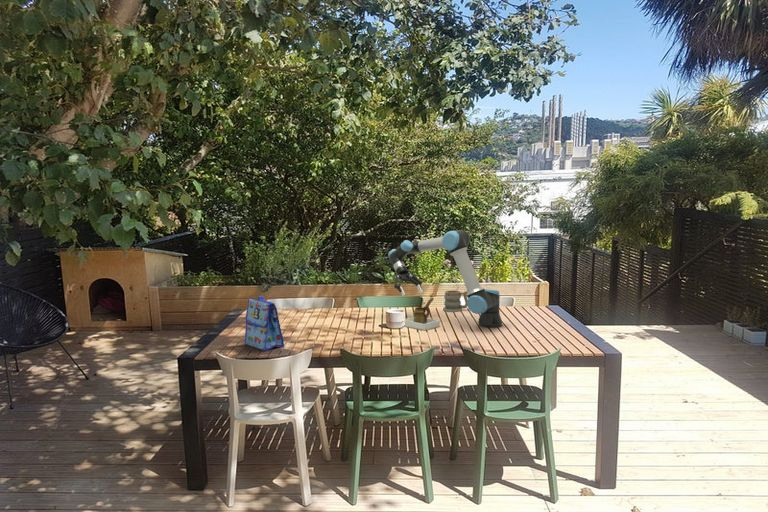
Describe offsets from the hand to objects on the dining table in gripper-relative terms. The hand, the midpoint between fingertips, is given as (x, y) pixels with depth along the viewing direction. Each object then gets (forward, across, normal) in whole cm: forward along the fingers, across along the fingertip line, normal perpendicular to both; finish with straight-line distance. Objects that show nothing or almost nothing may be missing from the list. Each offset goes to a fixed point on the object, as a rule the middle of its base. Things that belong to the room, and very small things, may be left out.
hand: (412, 294), depth 349 cm
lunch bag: (+13, +99, -15) cm, 101 cm away
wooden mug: (+20, -2, -7) cm, 21 cm away
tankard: (+1, -49, -27) cm, 56 cm away
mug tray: (+20, 0, -8) cm, 21 cm away
